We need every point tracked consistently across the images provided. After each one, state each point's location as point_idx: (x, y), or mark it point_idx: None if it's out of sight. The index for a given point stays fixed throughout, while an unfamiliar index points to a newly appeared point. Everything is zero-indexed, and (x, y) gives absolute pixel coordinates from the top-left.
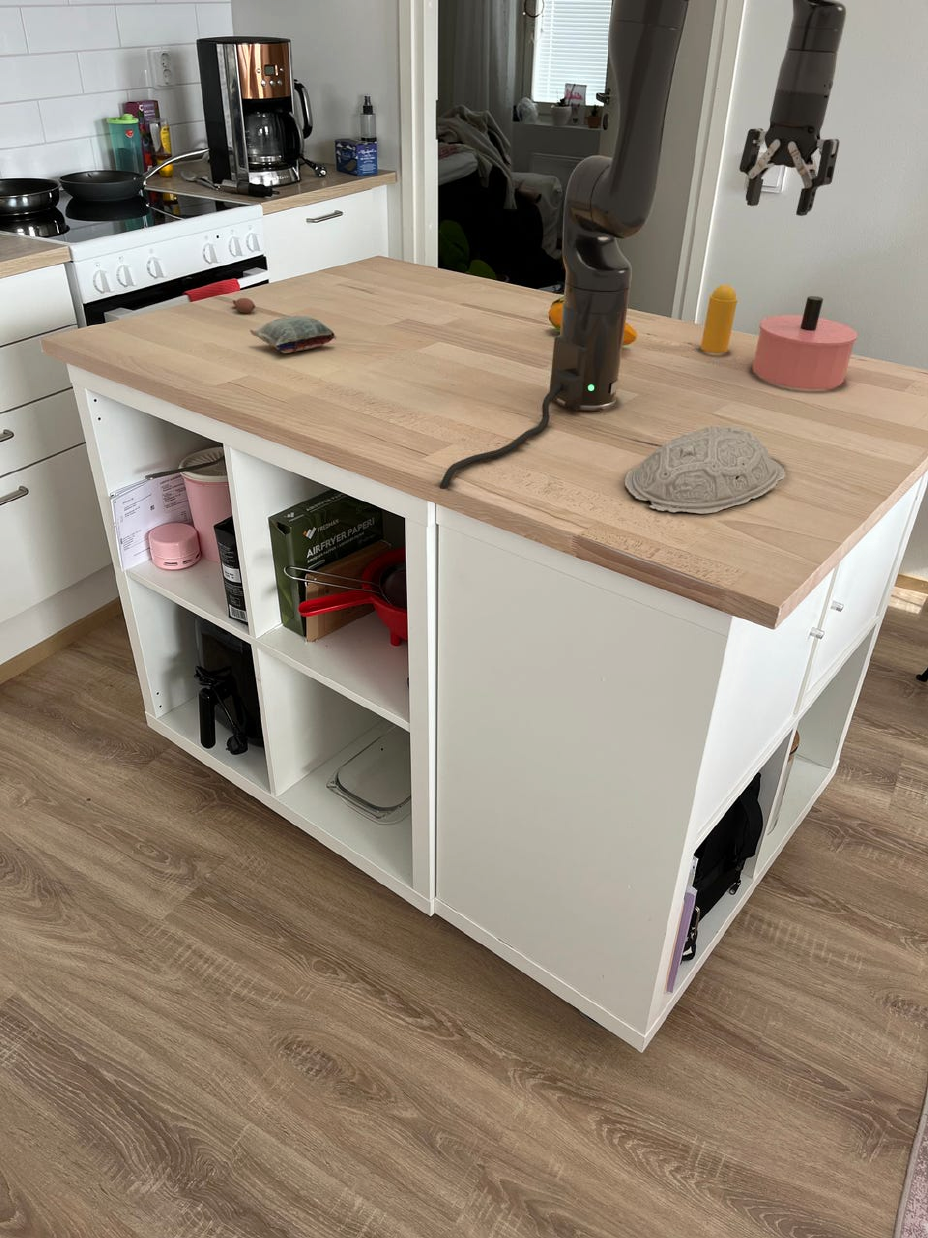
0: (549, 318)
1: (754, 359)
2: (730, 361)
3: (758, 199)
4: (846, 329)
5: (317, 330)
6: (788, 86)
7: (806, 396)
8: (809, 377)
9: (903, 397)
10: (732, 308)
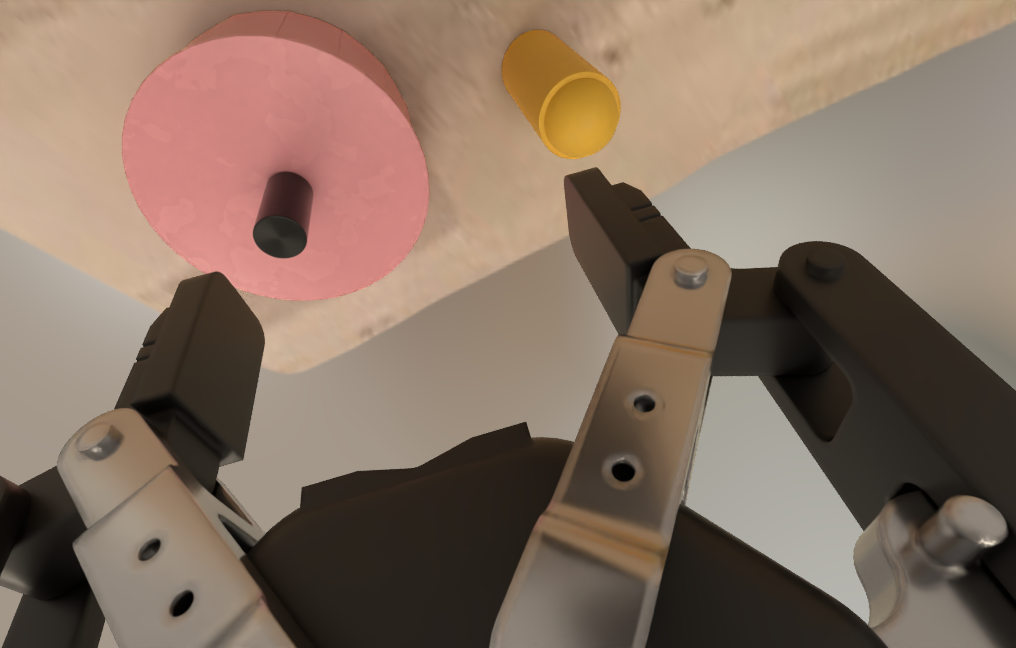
0: None
1: (372, 61)
2: (459, 56)
3: (579, 257)
4: (261, 279)
5: None
6: None
7: (140, 42)
8: None
9: (122, 265)
10: (532, 114)
